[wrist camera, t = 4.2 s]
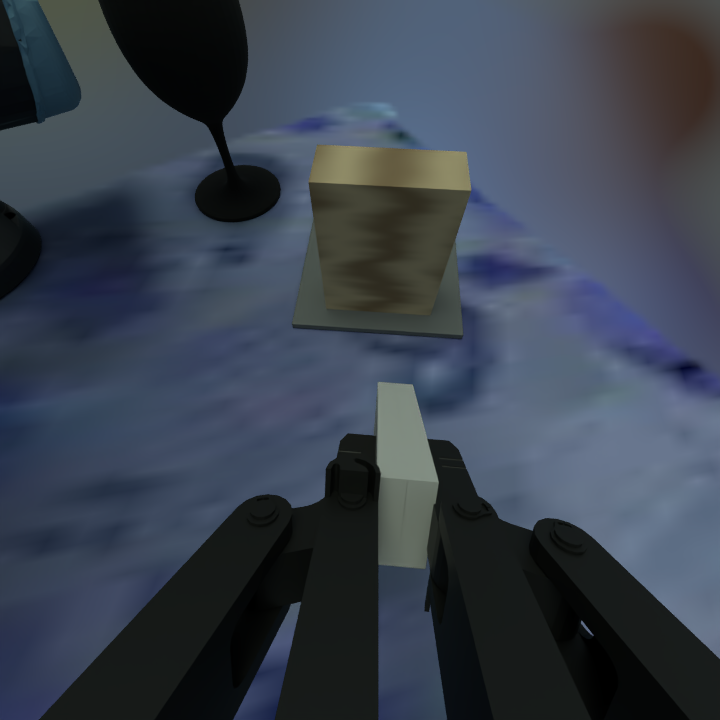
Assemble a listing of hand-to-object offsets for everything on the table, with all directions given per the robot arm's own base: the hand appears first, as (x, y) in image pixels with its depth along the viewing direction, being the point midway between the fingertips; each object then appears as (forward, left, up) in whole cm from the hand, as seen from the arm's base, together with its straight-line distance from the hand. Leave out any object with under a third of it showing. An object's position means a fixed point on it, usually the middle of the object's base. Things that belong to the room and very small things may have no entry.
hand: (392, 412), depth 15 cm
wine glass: (-19, +31, -13) cm, 39 cm away
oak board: (-1, +16, -12) cm, 20 cm away
